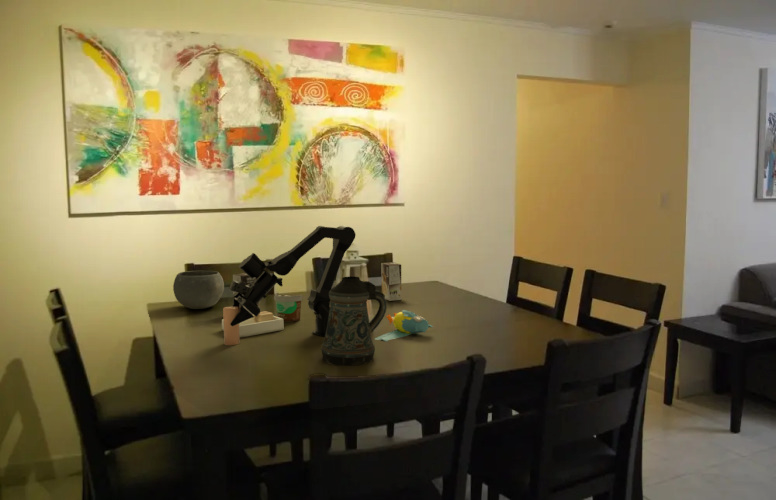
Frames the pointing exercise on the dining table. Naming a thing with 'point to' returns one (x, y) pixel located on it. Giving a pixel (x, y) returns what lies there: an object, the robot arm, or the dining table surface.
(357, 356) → the beer stein
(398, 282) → the coffee box
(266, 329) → the tote
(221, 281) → the bowl
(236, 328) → the tan upright cylinder
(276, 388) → the dining table surface
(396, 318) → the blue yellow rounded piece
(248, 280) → the coffee box
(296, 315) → the food container
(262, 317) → the maple block
